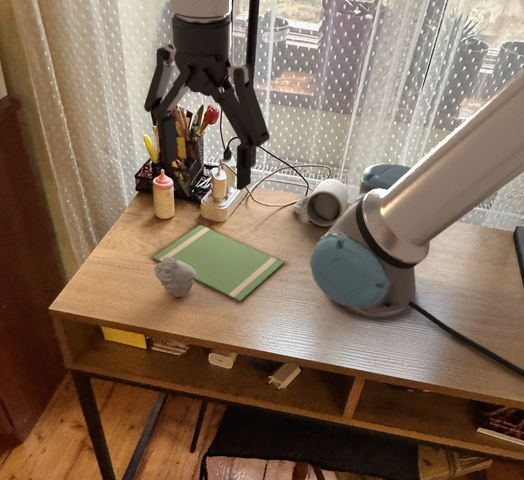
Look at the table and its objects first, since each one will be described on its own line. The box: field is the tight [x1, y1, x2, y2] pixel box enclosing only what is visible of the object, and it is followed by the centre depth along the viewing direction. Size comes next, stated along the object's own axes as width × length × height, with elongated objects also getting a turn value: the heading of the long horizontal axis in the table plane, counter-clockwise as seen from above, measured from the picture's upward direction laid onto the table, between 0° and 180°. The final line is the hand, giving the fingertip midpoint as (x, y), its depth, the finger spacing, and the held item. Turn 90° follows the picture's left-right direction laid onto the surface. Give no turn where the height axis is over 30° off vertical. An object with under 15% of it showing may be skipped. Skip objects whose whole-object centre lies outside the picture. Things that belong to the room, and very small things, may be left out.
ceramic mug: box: [293, 178, 349, 227], centre depth 112 cm, size 11×8×8 cm
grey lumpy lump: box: [153, 257, 197, 298], centre depth 92 cm, size 6×7×7 cm
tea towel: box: [152, 224, 284, 303], centre depth 101 cm, size 20×14×1 cm
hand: (206, 173), depth 83 cm, fingers open, 13 cm apart
